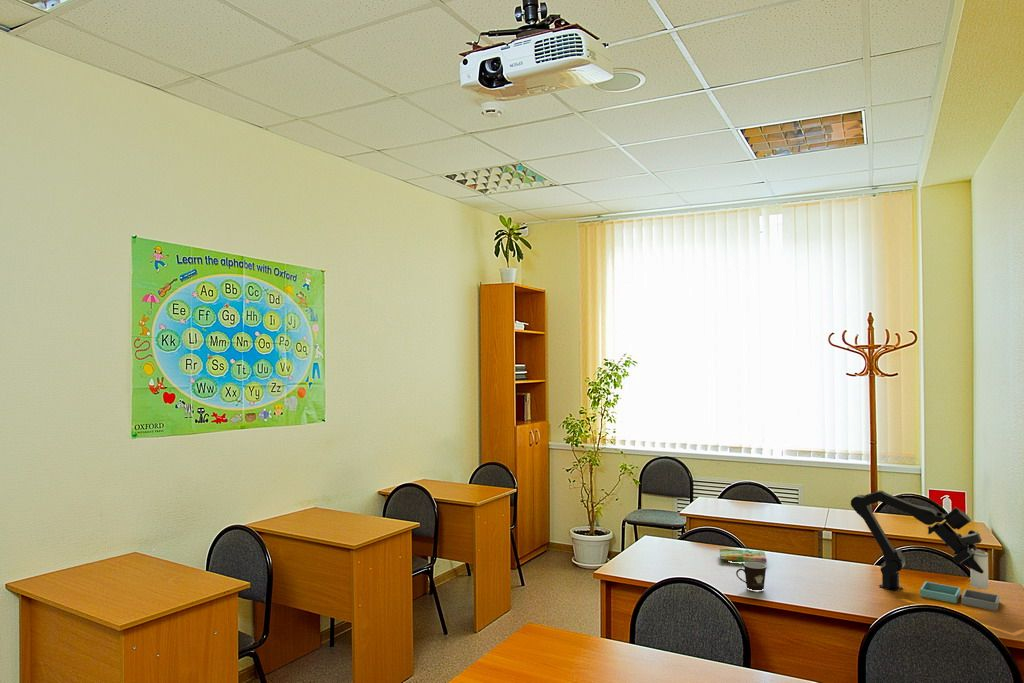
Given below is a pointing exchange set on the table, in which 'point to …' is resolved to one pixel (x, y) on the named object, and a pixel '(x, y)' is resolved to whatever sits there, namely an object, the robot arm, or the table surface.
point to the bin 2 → (980, 599)
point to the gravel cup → (982, 559)
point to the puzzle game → (743, 556)
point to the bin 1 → (940, 592)
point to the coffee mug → (754, 575)
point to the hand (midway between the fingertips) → (983, 570)
